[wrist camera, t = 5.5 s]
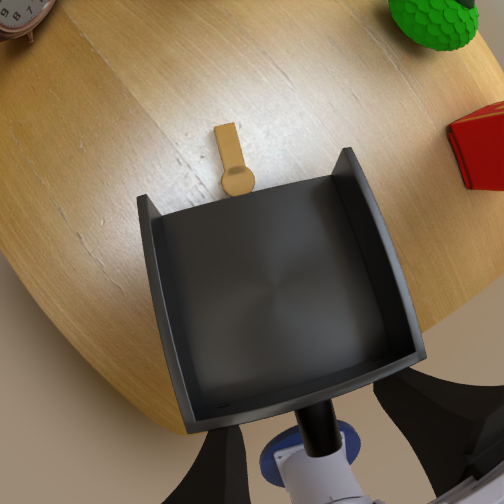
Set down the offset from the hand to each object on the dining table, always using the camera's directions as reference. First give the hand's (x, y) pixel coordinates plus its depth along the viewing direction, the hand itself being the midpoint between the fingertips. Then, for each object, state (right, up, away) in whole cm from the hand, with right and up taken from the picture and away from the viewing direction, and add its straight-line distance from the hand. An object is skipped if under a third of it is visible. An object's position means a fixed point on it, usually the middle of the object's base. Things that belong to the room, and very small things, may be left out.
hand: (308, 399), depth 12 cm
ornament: (+12, +27, +7) cm, 31 cm away
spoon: (-4, +13, +8) cm, 15 cm away
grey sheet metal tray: (-1, +4, +2) cm, 4 cm away
